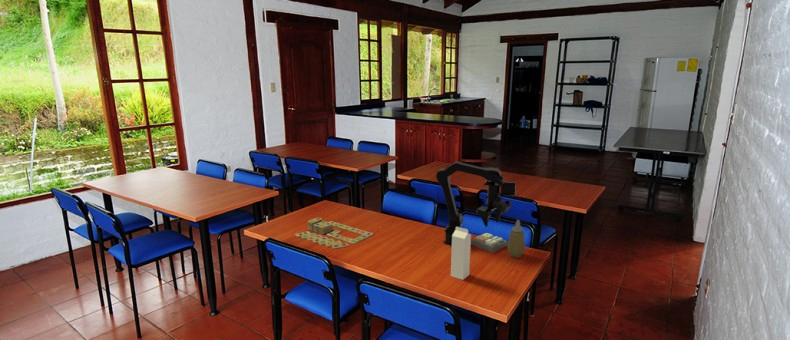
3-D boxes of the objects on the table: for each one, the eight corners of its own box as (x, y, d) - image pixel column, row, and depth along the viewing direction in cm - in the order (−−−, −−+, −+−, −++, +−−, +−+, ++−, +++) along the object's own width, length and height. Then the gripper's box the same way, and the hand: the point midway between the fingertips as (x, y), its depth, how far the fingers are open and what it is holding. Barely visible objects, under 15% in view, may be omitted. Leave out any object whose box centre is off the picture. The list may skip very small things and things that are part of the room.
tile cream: (491, 246, 208) (491, 242, 208) (484, 244, 211) (485, 240, 211) (496, 244, 211) (496, 240, 210) (489, 242, 214) (489, 238, 213)
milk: (457, 271, 188) (458, 224, 183) (469, 275, 185) (471, 227, 180) (450, 276, 183) (452, 228, 178) (462, 280, 180) (464, 231, 175)
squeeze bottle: (515, 260, 199) (517, 224, 194) (503, 253, 206) (505, 218, 201) (527, 256, 202) (530, 221, 198) (515, 250, 209) (518, 216, 205)
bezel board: (492, 252, 207) (492, 247, 206) (470, 244, 216) (470, 239, 216) (506, 245, 215) (507, 241, 214) (485, 238, 224) (485, 233, 224)
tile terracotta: (481, 242, 213) (481, 239, 212) (475, 240, 216) (475, 236, 215) (486, 240, 215) (486, 237, 215) (480, 238, 218) (480, 234, 218)
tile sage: (487, 240, 216) (488, 236, 216) (481, 237, 219) (481, 234, 219) (492, 238, 219) (492, 234, 218) (486, 236, 222) (486, 232, 221)
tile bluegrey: (497, 243, 212) (498, 240, 211) (491, 241, 215) (491, 237, 214) (502, 241, 214) (502, 238, 214) (495, 239, 217) (496, 235, 217)
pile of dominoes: (292, 236, 228) (292, 227, 227) (328, 222, 249) (327, 213, 248) (340, 252, 208) (339, 242, 207) (374, 235, 230) (374, 225, 228)
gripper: (496, 201, 194) (494, 233, 197) (518, 193, 206) (516, 224, 210) (476, 196, 202) (475, 227, 205) (498, 189, 214) (497, 218, 218)
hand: (491, 224), depth 209 cm, fingers open, 9 cm apart
